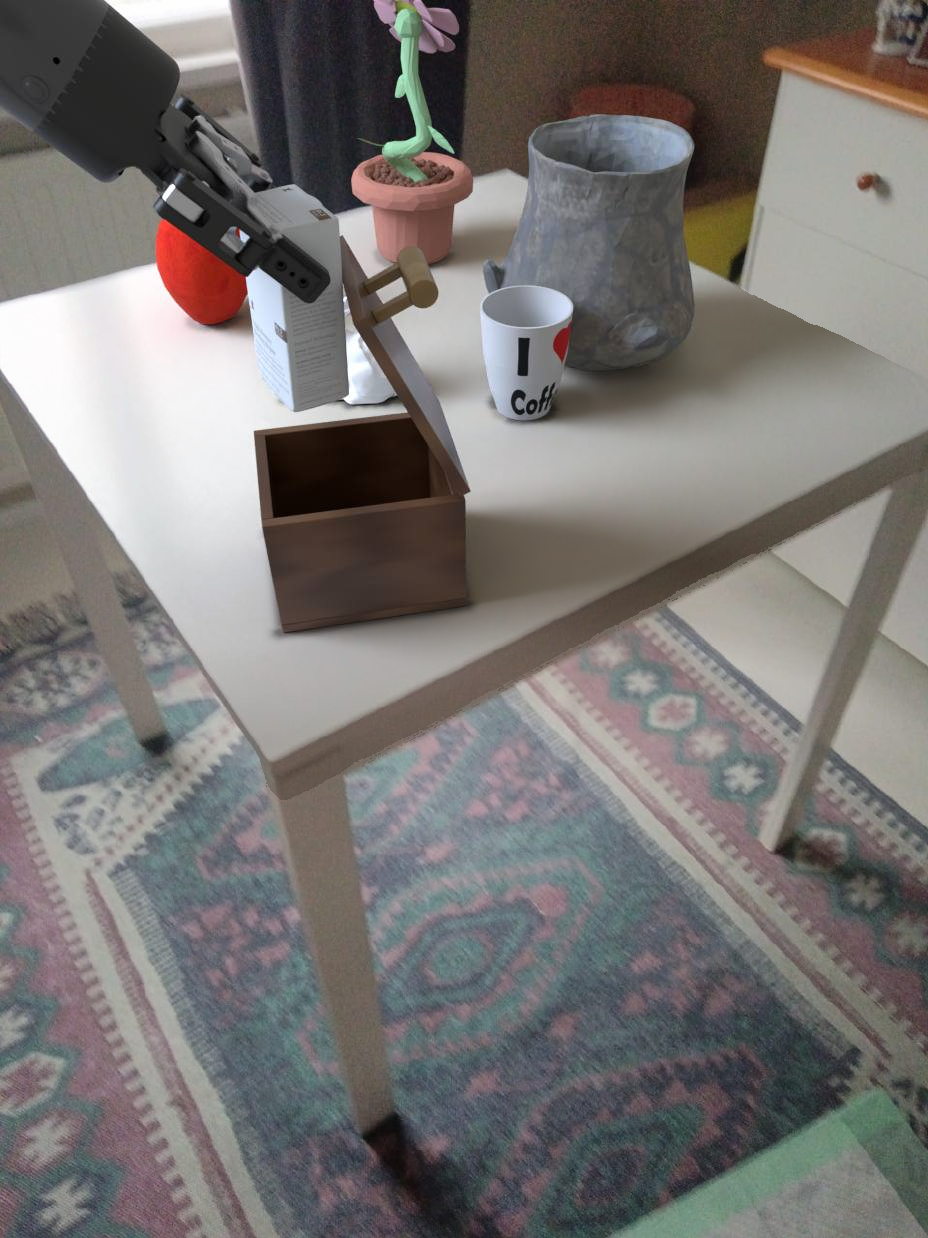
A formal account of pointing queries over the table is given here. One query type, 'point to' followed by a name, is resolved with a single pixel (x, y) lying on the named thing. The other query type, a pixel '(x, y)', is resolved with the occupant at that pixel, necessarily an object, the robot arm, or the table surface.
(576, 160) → the vessel
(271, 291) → the cosmetic box
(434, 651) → the table surface
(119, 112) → the robot arm
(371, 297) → the lid
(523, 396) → the cup
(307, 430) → the chest
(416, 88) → the decorative flower
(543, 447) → the table surface
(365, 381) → the rabbit figurine
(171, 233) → the apple
